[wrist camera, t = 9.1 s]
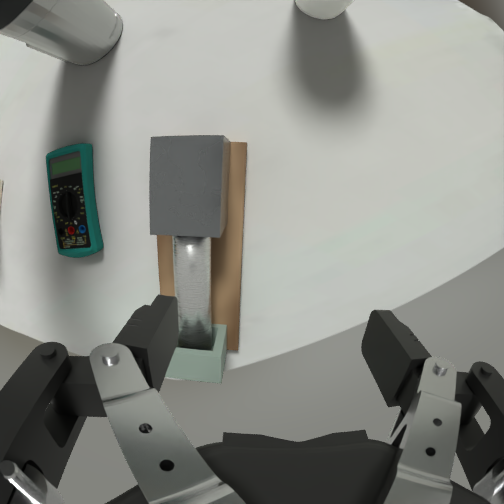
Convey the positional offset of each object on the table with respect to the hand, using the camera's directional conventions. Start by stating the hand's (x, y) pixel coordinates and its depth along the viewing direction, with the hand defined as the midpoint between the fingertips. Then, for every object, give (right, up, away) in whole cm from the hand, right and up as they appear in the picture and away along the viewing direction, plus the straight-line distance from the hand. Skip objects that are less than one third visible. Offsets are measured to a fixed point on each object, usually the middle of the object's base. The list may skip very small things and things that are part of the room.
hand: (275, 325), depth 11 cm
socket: (-8, -8, +25) cm, 27 cm away
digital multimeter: (-25, +10, +22) cm, 35 cm away
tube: (-7, 0, +21) cm, 22 cm away
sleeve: (-7, +11, +19) cm, 23 cm away
